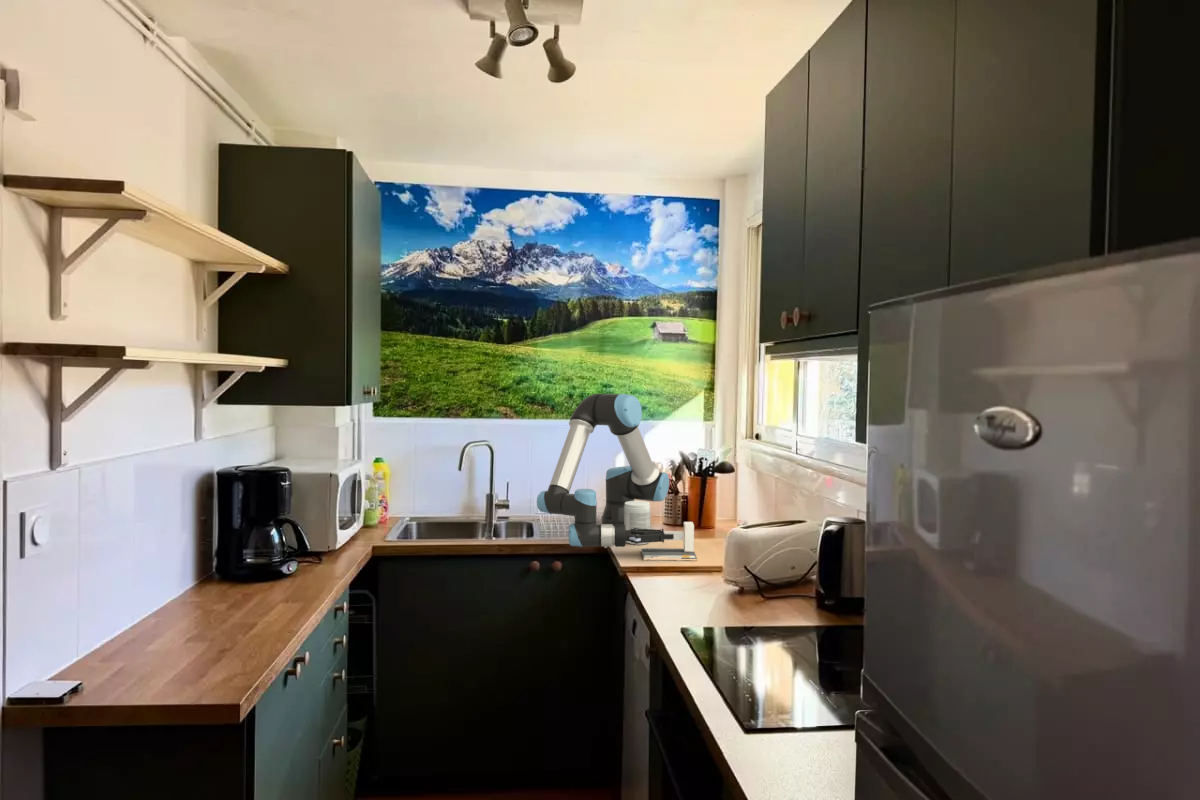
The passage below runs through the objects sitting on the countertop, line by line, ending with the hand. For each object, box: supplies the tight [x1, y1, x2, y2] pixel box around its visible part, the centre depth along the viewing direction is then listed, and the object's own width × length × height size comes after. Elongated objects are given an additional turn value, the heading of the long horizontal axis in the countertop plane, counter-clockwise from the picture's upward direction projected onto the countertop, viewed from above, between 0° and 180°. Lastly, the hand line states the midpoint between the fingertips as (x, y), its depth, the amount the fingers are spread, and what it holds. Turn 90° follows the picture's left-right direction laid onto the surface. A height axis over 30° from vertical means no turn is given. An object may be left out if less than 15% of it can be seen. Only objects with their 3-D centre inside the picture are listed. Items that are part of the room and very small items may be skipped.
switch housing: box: [641, 547, 698, 560], centre depth 249 cm, size 12×18×2 cm, turn 89°
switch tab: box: [683, 521, 695, 552], centre depth 249 cm, size 5×3×10 cm, turn 179°
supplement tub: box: [624, 500, 651, 546], centre depth 268 cm, size 10×10×15 cm
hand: (683, 535), depth 249 cm, fingers closed
